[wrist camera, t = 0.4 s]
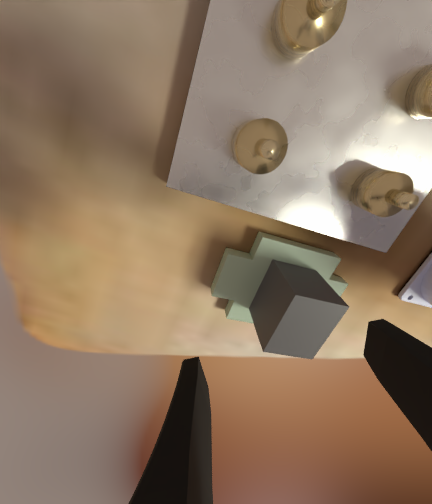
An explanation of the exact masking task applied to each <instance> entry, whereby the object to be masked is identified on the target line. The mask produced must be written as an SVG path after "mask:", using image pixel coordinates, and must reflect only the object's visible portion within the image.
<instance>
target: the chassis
mask: <svg viewBox="0 0 432 504" xmlns="http://www.w3.org/2000/svg"><path fill="white" fill-rule="evenodd" d="M166 187H170V188H173V189H176V190H180V191H183V192H186V193H190V194H193V195H196V196H199V197H203V198H206V199H209V200H213V201H216V202H219V203H223V204H226V205H229V206H233V207H236V208H239V209H242V210H246V211H249V212H252V213H256V214H259V215H262V216H266V217H269V218H272V219H276V220H279V221H282V222H286V223H289V224H292V225H295V226H299V227H302V228H305V229H309V230H312V231H315V232H319V233H322V234H325V235H329V236H332V237H335V238H338V239H342V240H345V241H348V242H352V243H355V244H358V245H362V246H365V247H368V248H372V249H375V250H378V251H381V252H385V253H386V252H387V251H388V249H389V248H390V247H391V245H392V244H393V242H394V241H395V240H396V238H397V237H398V235H399V234H400V232H401V231H402V230H403V228H404V227H405V225H406V224H407V222H408V221H409V220H410V218H411V217H412V215H413V214H414V212H415V211H416V210H417V208H418V207H419V205H420V204H421V203H422V201H423V200H424V198H425V197H426V195H427V194H428V193H429V191H430V190H431V188H432V0H210V4H209V8H208V13H207V17H206V21H205V25H204V29H203V34H202V38H201V42H200V46H199V50H198V55H197V59H196V63H195V67H194V72H193V76H192V80H191V84H190V88H189V93H188V97H187V101H186V105H185V109H184V114H183V118H182V122H181V126H180V130H179V135H178V139H177V143H176V147H175V152H174V156H173V160H172V164H171V168H170V173H169V177H168V181H167V185H166Z"/></svg>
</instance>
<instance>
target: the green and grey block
mask: <svg viewBox="0 0 432 504" xmlns="http://www.w3.org/2000/svg"><path fill="white" fill-rule="evenodd" d="M340 261H341V258H340V257H338V256H337V255H336V254H335V253H333V252H330V251H326V250H323V249H319V248H316V247H312V246H309V245H305V244H302V243H298V242H295V241H291V240H288V239H284V238H281V237H277V236H274V235H270V234H267V233H263V232H260V231H259V232H258V234H257V237H256V239H255V241H254V244H253V246H252V248H251V250H250V253H246V252H242V251H238V250H234V249H230V248H227V247H226V249H225V252H224V254H223V257H222V260H221V262H220V265H219V267H218V270H217V273H216V275H215V278H214V280H213V283H212V286H211V294H212V296H214V297H219V298H224V299H229V301H228V304H227V306H226V308H225V313H226V318H227V319H232V320H237V321H243V322H248V323H254V326H255V329H256V332H257V335H258V338H259V341H260V344H261V347H262V350H263V352H269V353H275V354H281V355H288V356H294V357H300V358H307V359H313V358H314V356H315V355H316V354H317V352H318V351H319V349H320V348H321V346H322V345H323V344H324V342H325V341H326V339H327V338H328V337H329V335H330V334H331V332H332V331H333V329H334V328H335V327H336V325H337V324H338V322H339V321H340V320H341V318H342V317H343V315H344V314H345V312H346V311H347V310H348V308H349V306H348V305H347V304H346V303H345V302H344V301H343V299H342V298H341V297H340V296H341V295H342V293H343V292H344V290H345V289H346V287H347V286H348V283H347V282H346V281H344V280H343V279H342V278H341V277H339V276H335V275H332V273H333V272H334V270H335V269H336V267H337V265H338V264H339V262H340Z"/></svg>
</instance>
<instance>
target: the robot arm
mask: <svg viewBox="0 0 432 504" xmlns="http://www.w3.org/2000/svg"><path fill="white" fill-rule="evenodd" d="M398 297H399V298H400V299H401V300H403V301H406V302H410V303H414V304H419V305H423V306H427V307H431V308H432V253H431V254H430V255H429V256H428V258H427V259H426V260H425V261H424V263H423V264H422V265H421V266H420V268H419V269H418V270H417V272H416V273H415V274H414V275H413V277H412V278H411V279H410V280H409V282H408V283H407V284H406V285H405V287H404V288H403V289H402V290H401V292H400V293H399V295H398ZM364 357H365V358H366V360H367V362H368V364H369V365H370V367H371V369H372V370H373V372H374V373H375V375H376V377H377V378H378V380H379V381H380V383H381V384H382V386H383V387H384V388H385V390H386V391H387V392H388V393H389V395H390V396H391V397H392V399H393V400H394V402H395V403H396V404H397V405H398V407H399V408H400V409H401V411H402V412H403V413H404V415H405V416H406V417H407V419H408V420H409V421H410V423H411V424H412V425H413V427H414V428H415V429H416V430H417V432H418V433H419V434H420V436H421V437H422V438H423V440H424V441H425V442H426V444H427V445H428V447H429V448H430V449H431V451H432V348H431V347H430V346H428V345H426V344H424V343H423V342H421V341H419V340H418V339H416V338H414V337H413V336H411V335H409V334H408V333H406V332H404V331H403V330H401V329H399V328H398V327H396V326H394V325H393V324H391V323H389V322H388V321H386V320H384V319H380V320H375V321H370V322H369V323H368V329H367V336H366V342H365V349H364ZM211 442H212V441H211V408H210V399H209V389H208V385H207V381H206V378H205V375H204V372H203V369H202V366H201V363H200V360H199V357H195V358H190V359H185V360H184V361H183V362H182V366H181V370H180V374H179V378H178V381H177V385H176V388H175V392H174V395H173V398H172V401H171V404H170V407H169V410H168V412H167V415H166V419H165V421H164V424H163V426H162V429H161V432H160V434H159V437H158V439H157V442H156V444H155V447H154V449H153V452H152V454H151V457H150V459H149V461H148V463H147V466H146V468H145V470H144V472H143V475H142V477H141V479H140V481H139V483H138V486H137V488H136V490H135V492H134V494H133V496H132V498H131V500H130V502H129V504H213V494H212V451H211V450H212V446H211V444H212V443H211Z"/></svg>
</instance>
